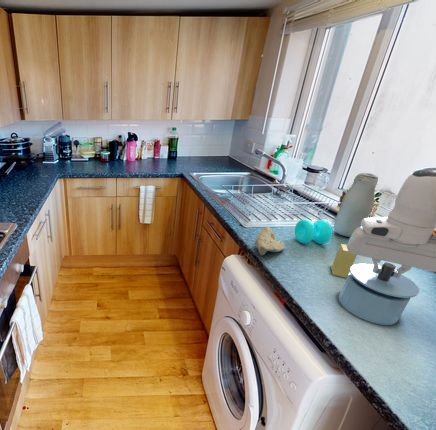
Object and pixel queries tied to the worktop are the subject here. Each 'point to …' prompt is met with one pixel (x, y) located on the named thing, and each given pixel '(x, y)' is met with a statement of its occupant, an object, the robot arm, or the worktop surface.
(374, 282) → the pot lid
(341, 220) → the grey bottle
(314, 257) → the worktop surface
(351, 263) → the butter
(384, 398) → the worktop surface
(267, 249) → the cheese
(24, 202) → the worktop surface
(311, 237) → the donuts
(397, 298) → the pot
